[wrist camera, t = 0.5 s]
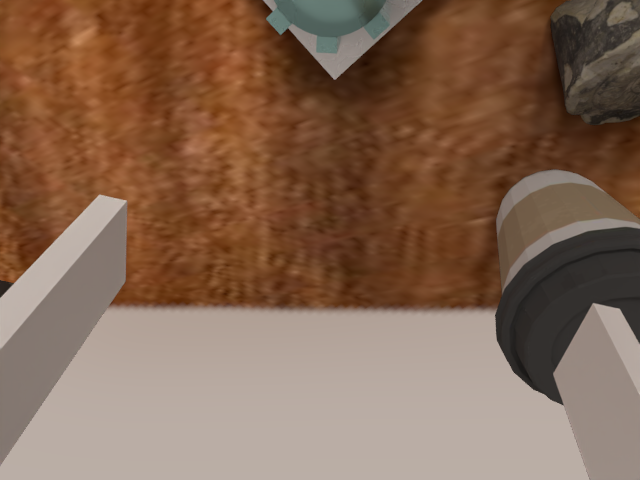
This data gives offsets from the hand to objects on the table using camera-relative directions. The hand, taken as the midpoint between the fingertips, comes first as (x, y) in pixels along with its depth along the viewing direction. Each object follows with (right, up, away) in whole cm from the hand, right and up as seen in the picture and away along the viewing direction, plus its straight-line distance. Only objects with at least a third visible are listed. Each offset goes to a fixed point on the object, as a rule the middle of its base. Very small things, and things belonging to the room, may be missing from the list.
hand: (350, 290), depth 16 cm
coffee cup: (+16, +3, +26) cm, 31 cm away
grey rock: (+18, +14, +20) cm, 31 cm away
